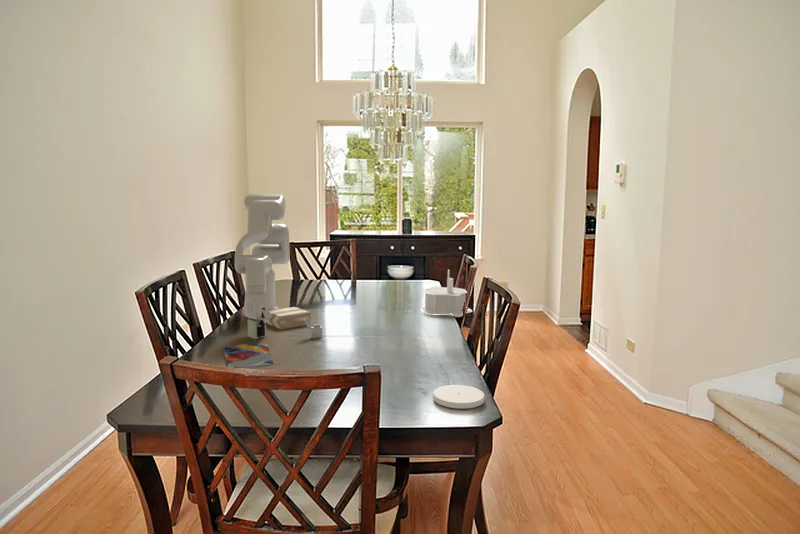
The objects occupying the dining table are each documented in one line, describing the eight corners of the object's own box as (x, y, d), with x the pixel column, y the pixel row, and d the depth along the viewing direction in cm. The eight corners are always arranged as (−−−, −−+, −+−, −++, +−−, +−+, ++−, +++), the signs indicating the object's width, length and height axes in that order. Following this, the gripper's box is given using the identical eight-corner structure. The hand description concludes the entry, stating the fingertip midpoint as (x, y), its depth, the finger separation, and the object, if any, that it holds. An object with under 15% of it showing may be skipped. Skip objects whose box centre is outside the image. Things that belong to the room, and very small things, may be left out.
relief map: (275, 366, 183) (275, 360, 183) (227, 371, 178) (227, 365, 178) (266, 346, 207) (266, 341, 207) (223, 349, 202) (223, 344, 202)
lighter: (321, 336, 219) (321, 317, 218) (322, 337, 217) (322, 318, 216) (303, 337, 217) (303, 317, 216) (303, 338, 216) (303, 318, 215)
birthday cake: (405, 308, 277) (406, 265, 274) (456, 304, 288) (457, 263, 285) (431, 321, 249) (432, 273, 247) (486, 316, 260) (488, 271, 257)
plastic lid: (439, 390, 162) (439, 382, 161) (487, 396, 158) (487, 387, 158) (427, 408, 149) (427, 399, 148) (479, 415, 145) (480, 405, 144)
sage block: (247, 336, 218) (247, 319, 217) (259, 334, 221) (258, 317, 220) (255, 339, 214) (254, 321, 213) (266, 337, 218) (265, 319, 217)
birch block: (265, 324, 240) (265, 310, 239) (294, 319, 249) (294, 306, 248) (281, 330, 229) (280, 316, 228) (310, 325, 238) (310, 312, 237)
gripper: (235, 287, 218) (236, 332, 221) (259, 293, 207) (260, 340, 209) (252, 285, 224) (253, 329, 226) (276, 290, 212) (277, 337, 215)
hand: (257, 334), depth 218 cm, fingers closed on sage block, 5 cm apart
